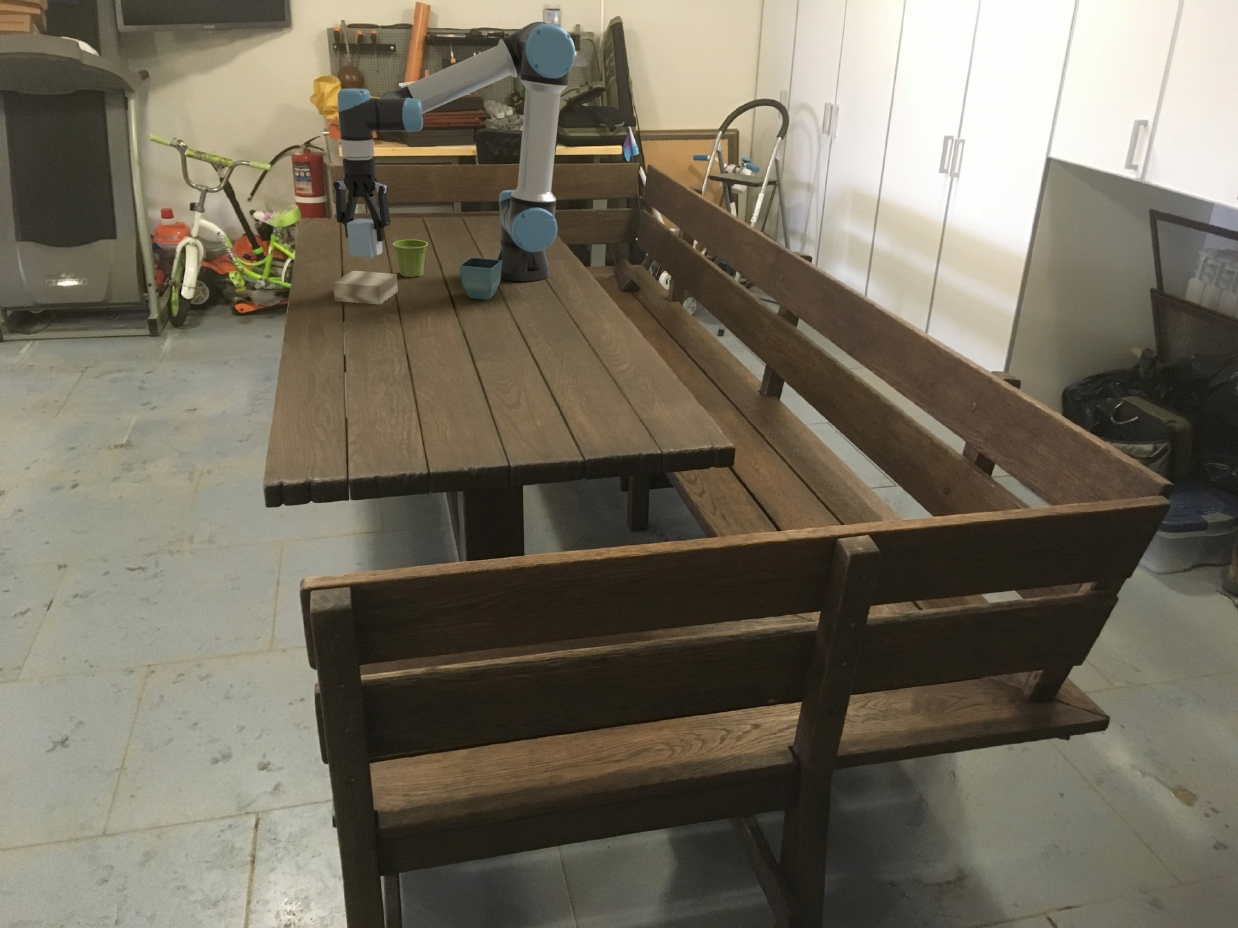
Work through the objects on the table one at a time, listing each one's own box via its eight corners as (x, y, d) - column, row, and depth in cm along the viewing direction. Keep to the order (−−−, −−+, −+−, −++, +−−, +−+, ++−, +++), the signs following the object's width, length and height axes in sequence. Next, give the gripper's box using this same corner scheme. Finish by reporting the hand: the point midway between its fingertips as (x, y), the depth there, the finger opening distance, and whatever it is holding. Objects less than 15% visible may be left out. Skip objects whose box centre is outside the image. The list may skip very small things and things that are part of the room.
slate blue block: (382, 252, 250) (380, 220, 246) (371, 257, 245) (368, 225, 241) (361, 250, 251) (358, 218, 248) (349, 255, 246) (346, 223, 243)
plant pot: (433, 271, 275) (431, 240, 272) (424, 280, 267) (422, 248, 263) (400, 269, 276) (398, 238, 272) (390, 278, 268) (388, 246, 264)
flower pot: (493, 303, 250) (492, 268, 246) (459, 300, 251) (458, 265, 247) (503, 294, 258) (503, 259, 254) (471, 291, 259) (470, 257, 255)
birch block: (398, 292, 257) (396, 273, 255) (380, 305, 246) (378, 286, 244) (354, 289, 259) (352, 270, 256) (334, 302, 248) (332, 282, 246)
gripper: (401, 158, 239) (407, 253, 249) (331, 152, 243) (339, 246, 253) (387, 162, 232) (393, 260, 242) (314, 156, 237) (324, 252, 247)
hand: (366, 252), depth 248 cm, fingers closed on slate blue block, 6 cm apart
